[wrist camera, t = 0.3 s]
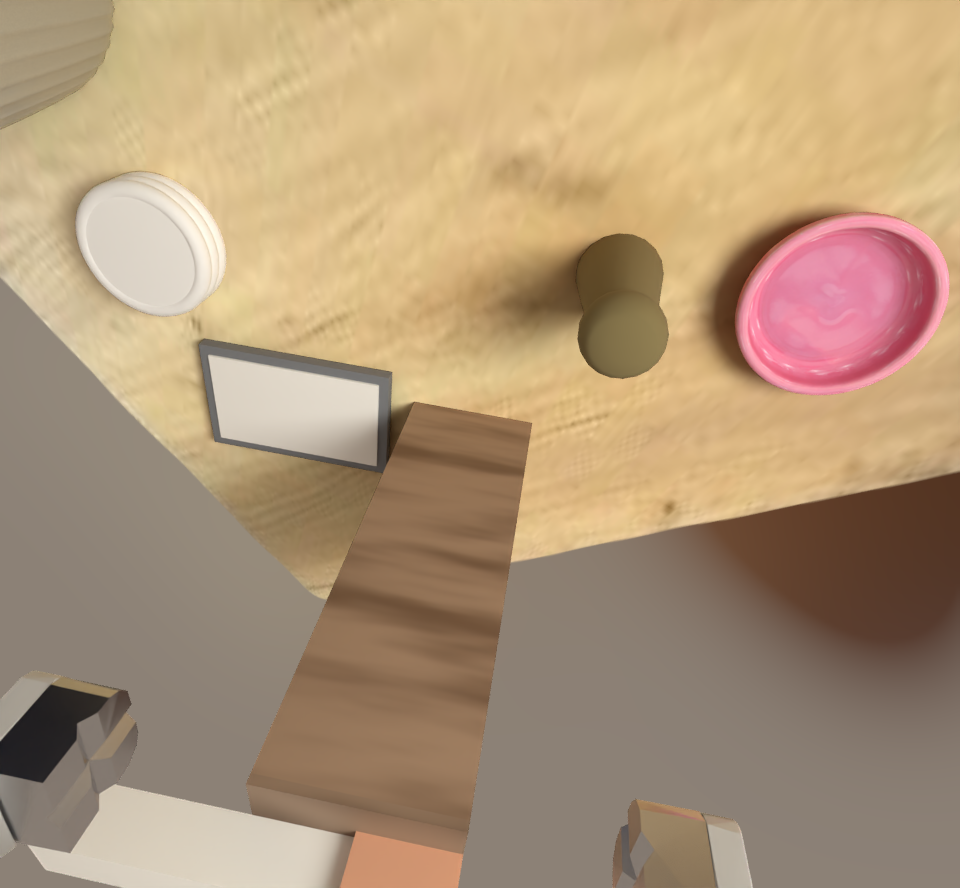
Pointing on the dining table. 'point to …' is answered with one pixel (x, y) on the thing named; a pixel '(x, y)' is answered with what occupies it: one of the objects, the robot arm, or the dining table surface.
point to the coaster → (151, 243)
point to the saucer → (841, 303)
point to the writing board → (298, 405)
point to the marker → (236, 850)
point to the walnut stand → (404, 644)
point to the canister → (48, 51)
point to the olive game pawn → (621, 306)
